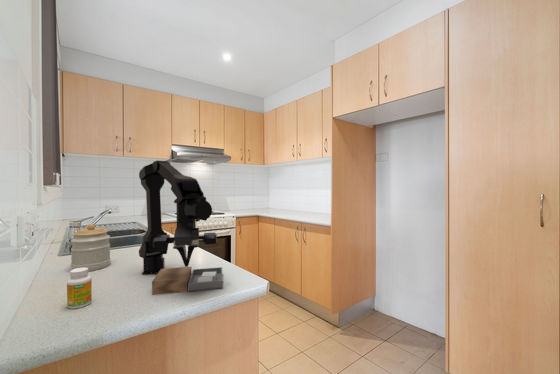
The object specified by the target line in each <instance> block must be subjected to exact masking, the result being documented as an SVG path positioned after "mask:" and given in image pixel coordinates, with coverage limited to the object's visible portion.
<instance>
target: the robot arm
mask: <svg viewBox="0 0 560 374" xmlns="http://www.w3.org/2000/svg"><path fill="white" fill-rule="evenodd" d="M138 177H139V180H140V184H141V186H142V188H143V189H144V190H145V195H146V196H145V197H146V219H147V220H146V221H147V230H146V232H145V233H144V235H143V237H142V243H141V244H140V245H141V246H140V248H139V250H138V254H139V255H138V256H139V257H140V258H142V260H143V271H142V273H141V274H142V275H152V274H158V272H159V271H160V270H161V269H166V268H165V257H164V255H167V254H168V250H169V244H173V246H172V249H173V250H177V252H178V253H179V254H180V257H181V260H182V262H183V264H184V267H189V265H190V261H191V257H192V255H193V252H194V249H195V248H199V245H200V242H202V243H204V244H205V245H216V244H217V233H216V232H215V231H214V232H204V233H203V235H200V229H199V228H200V227H196V225H197V224H196V223H197V221H196V220H198V221H199V220H200V221H206V220H208V219H209V218H210V217H211V215H212V213H213V207H212V205H211V203H210V202H209V201H208V200H207V197H206V196H204V191H203V190H202V189H201V186H200V183H199V181H198V180H197V179H196V178H195V177H192V176H189V175H184V174H182V173H181V172H180V171H179V170H178V169H177V168H175V167H174V166H173V165H171V163H170V162H169V161H167V160H159V159H157V160H154V161H153V162H152V163H149V164H147V165H144V166H143V167H142V168H141V169H140V170H139V172H138ZM165 181H166V182H168V183H169V184H170V185H171V188H170V191H171V192H172V193H173V195H175V197H176V198H175V199H174V201H173V203H174V204H175V205H176V206H175V207H176V228H175V231H174V235H173V236H171V234H168V233H167V232H165V231H164V229H163V227H162V226H163V225H162V202H161V189H162V188H163V186H164V185H165ZM186 246H187V247H186Z"/></svg>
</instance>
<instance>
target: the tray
mask: <svg viewBox="0 0 560 374" xmlns="http://www.w3.org/2000/svg"><path fill="white" fill-rule="evenodd" d="M216 271H217V277H216V280H215V281H208V282H197V281H198V277H201V276H202V274H203V272H216ZM223 282H224V281H223V267H222V266H221V267H220V266H219V267H210V268H209V267H207V268H206V267H205V268H195V269H194V268H193V269H191V276H190V279H189V282H188V291H187V292H188V293H191V292H201V291H202V292H203V291H213V290H222V289H223Z"/></svg>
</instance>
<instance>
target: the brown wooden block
mask: <svg viewBox="0 0 560 374" xmlns="http://www.w3.org/2000/svg"><path fill="white" fill-rule="evenodd" d="M191 273H192V266H188V267H185V266H184V267H183V266H181V267H169V268H164V269H161V270H160V271H159V272H158V273H156V275H155V276H154V278H153V279H152V281H151V294H152V296H153V295H162V294H163V295H166V294H172V293H173V294H174V293H175V292H176V293H183V292H188V282H189V279H190V276H191Z"/></svg>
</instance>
